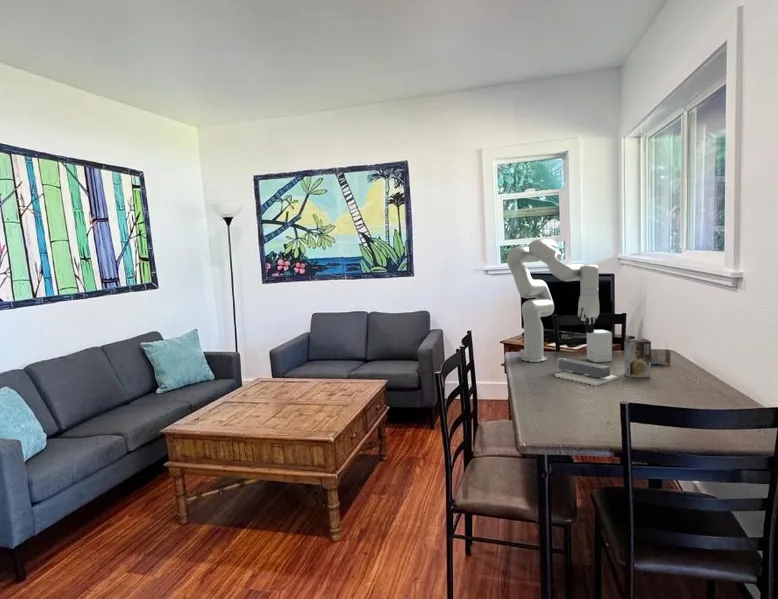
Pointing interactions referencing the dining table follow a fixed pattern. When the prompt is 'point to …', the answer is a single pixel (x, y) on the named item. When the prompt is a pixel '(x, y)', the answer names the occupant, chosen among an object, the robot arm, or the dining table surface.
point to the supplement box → (599, 346)
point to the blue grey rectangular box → (661, 356)
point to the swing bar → (584, 367)
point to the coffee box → (637, 358)
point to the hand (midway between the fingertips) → (589, 332)
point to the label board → (584, 377)
